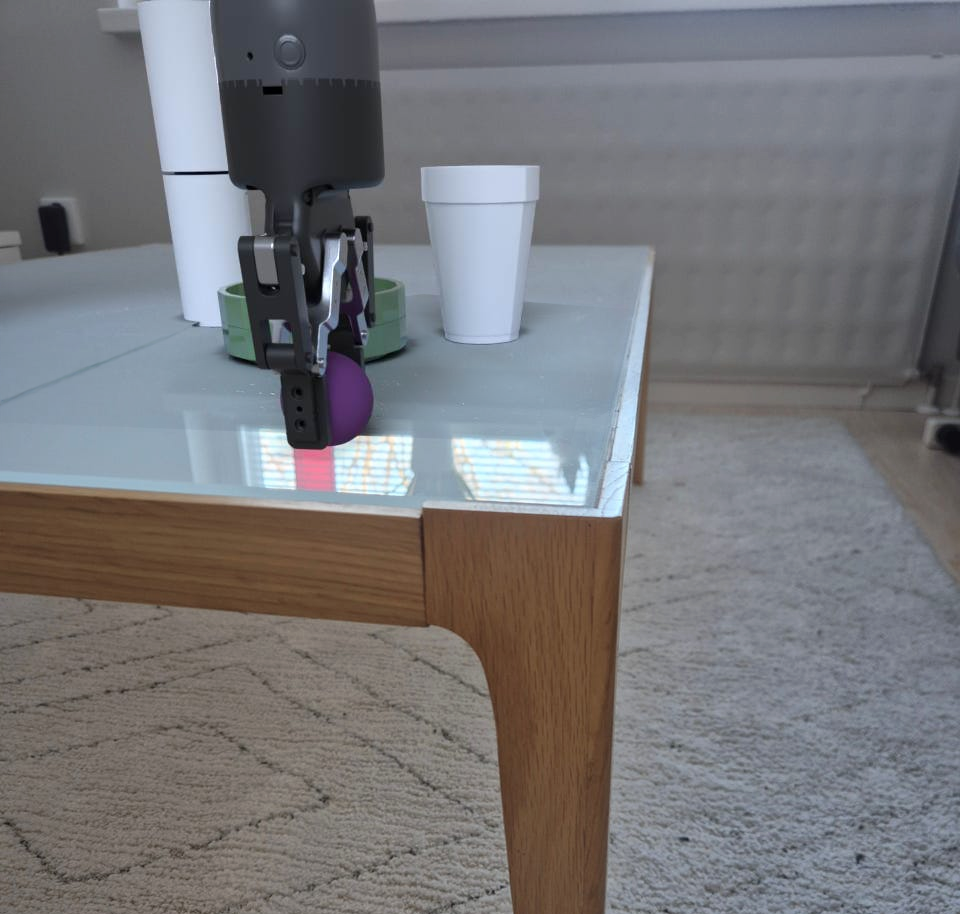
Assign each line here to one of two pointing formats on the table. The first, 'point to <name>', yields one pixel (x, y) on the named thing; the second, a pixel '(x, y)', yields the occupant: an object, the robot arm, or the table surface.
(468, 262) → the foam cup
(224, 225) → the cylindrical container
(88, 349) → the table surface
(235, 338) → the bowl
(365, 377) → the ball
